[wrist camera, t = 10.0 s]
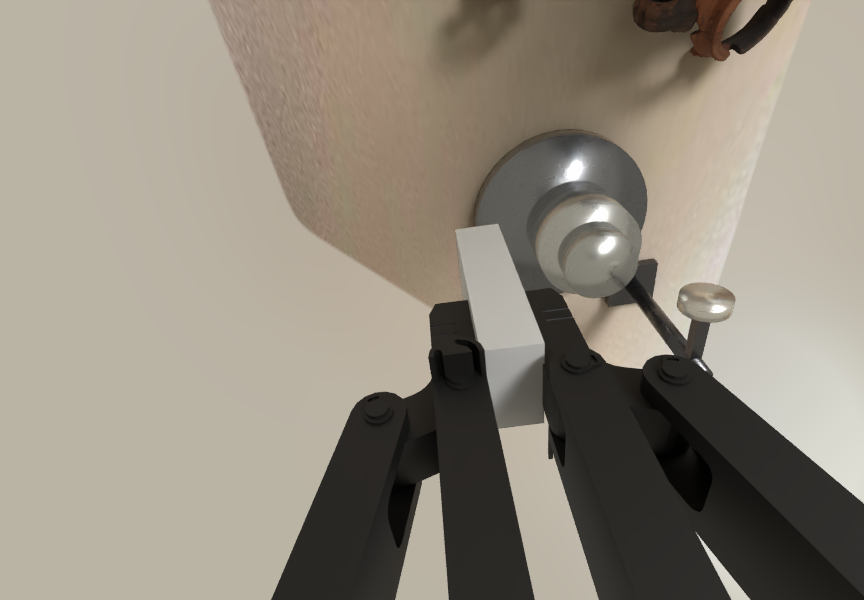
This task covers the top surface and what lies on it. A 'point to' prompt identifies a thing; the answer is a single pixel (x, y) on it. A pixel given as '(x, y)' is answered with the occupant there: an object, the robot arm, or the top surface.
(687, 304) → the dial stand
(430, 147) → the top surface
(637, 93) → the top surface
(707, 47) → the brown irregular ringed piece
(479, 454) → the robot arm
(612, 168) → the grey metal flat disc
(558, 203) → the cover
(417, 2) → the top surface
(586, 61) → the top surface
